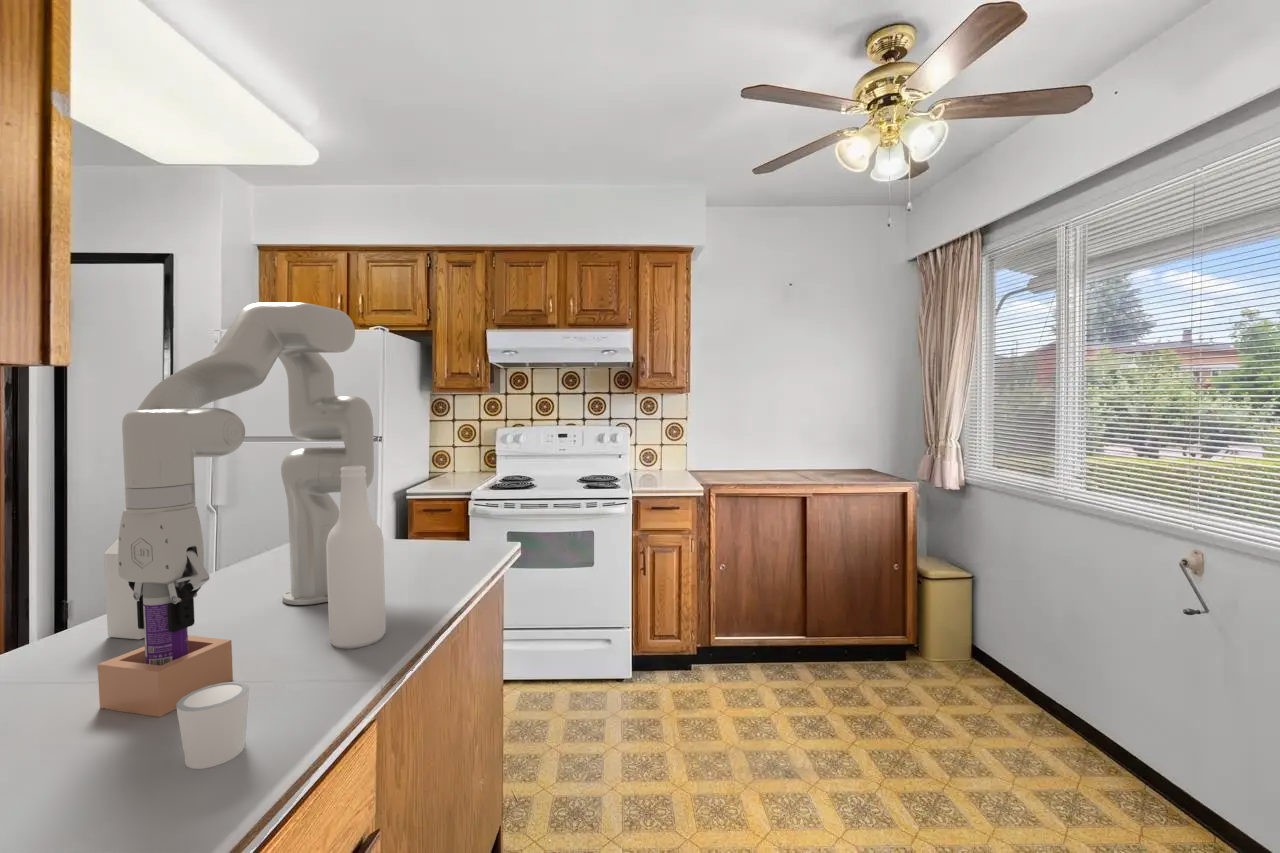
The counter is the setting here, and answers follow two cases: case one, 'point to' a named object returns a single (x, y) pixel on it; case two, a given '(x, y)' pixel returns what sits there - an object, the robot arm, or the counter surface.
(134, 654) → the tan open box
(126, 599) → the milk carton
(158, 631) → the container
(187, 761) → the white cup
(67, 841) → the counter surface
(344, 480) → the alcohol
